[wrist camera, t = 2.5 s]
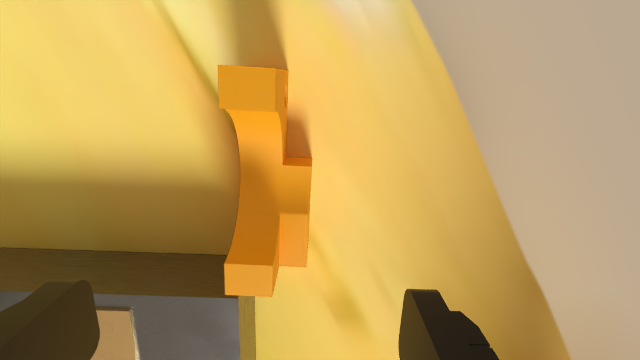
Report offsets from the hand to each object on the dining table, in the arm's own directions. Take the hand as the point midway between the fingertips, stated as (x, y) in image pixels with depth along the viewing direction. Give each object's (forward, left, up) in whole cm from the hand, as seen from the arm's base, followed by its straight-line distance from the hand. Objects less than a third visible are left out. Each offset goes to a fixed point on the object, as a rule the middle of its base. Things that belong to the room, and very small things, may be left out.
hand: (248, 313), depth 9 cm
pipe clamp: (+1, 0, -15) cm, 15 cm away
